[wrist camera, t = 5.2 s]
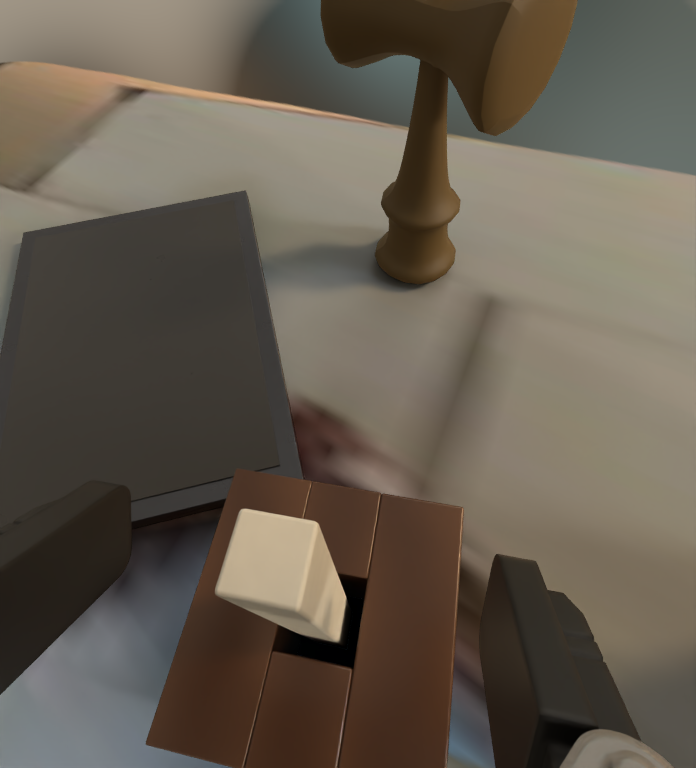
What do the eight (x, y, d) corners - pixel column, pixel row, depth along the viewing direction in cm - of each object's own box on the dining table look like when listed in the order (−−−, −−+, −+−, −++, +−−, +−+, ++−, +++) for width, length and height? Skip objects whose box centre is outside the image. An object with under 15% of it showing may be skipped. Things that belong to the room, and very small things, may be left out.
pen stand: (442, 544, 22) (464, 506, 17) (423, 778, 17) (444, 824, 12) (266, 512, 23) (235, 467, 18) (207, 724, 19) (144, 744, 14)
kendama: (444, 325, 28) (552, -189, 11) (331, 252, 32) (286, -219, 15) (500, 271, 31) (663, -231, 13) (389, 208, 34) (406, -249, 17)
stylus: (353, 612, 20) (321, 519, 8) (347, 649, 20) (300, 615, 7) (321, 605, 21) (238, 504, 8) (314, 642, 20) (209, 595, 7)
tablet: (249, 201, 35) (245, 188, 34) (305, 486, 24) (303, 478, 23) (31, 243, 34) (22, 231, 33) (-23, 567, 22) (-41, 563, 21)
